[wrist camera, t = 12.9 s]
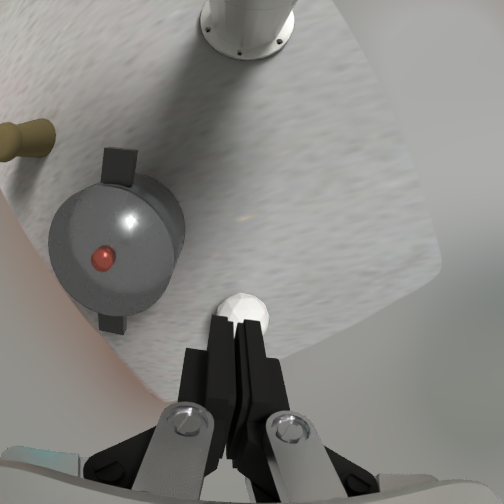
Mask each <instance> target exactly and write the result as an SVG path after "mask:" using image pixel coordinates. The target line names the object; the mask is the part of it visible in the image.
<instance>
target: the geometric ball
mask: <svg viewBox="0 0 504 504" xmlns="http://www.w3.org/2000/svg"><path fill="white" fill-rule="evenodd" d="M216 315H218V316H225V317H228V321H232V322H233V323H234V337H235V332H236V327H237V323H238V322H240V323H243V321H244V319H248V320H256V321H260V323H261V329H262V335H264V334H265V333H266V331H267V326H268V322H269V318H270V317H269V315H268V312H267V309H266V306H265V304H264V303H263V302H262V301H260V300H259V299H258V298H256V297H255V296H253V295H249V294H244V293H238V294H235V295H233V296H230V297H227V298H226V299H225V300H224V301H223V302H222V303H221V304H220V305H219V306H218V309H217V314H216Z"/></svg>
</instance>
